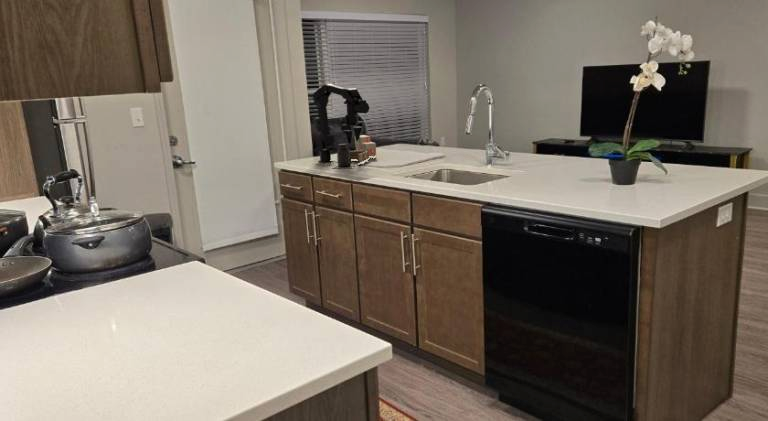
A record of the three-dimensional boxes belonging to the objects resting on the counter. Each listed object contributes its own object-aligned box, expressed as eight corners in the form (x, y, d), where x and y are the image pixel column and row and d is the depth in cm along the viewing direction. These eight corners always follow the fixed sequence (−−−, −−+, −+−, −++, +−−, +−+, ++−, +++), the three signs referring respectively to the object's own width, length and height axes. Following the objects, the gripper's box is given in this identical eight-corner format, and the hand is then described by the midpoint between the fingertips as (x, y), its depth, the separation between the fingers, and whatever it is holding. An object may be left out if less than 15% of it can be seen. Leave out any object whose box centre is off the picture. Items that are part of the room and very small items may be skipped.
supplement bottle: (345, 165, 311) (343, 142, 308) (353, 166, 306) (352, 143, 303) (335, 167, 306) (333, 144, 303) (343, 168, 302) (342, 145, 299)
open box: (348, 161, 326) (347, 150, 324) (369, 161, 321) (368, 150, 320) (337, 165, 313) (337, 154, 311) (359, 165, 308) (358, 154, 307)
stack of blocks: (376, 159, 330) (375, 137, 327) (366, 160, 328) (365, 138, 325) (365, 154, 350) (364, 134, 347) (355, 155, 348) (354, 135, 345)
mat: (340, 165, 312) (340, 164, 312) (357, 165, 309) (356, 165, 309) (332, 168, 303) (332, 168, 303) (349, 169, 300) (349, 168, 300)
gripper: (346, 111, 317) (347, 139, 321) (330, 114, 301) (332, 144, 305) (364, 111, 313) (365, 139, 317) (350, 114, 297) (351, 144, 300)
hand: (353, 141), depth 310 cm, fingers open, 9 cm apart
